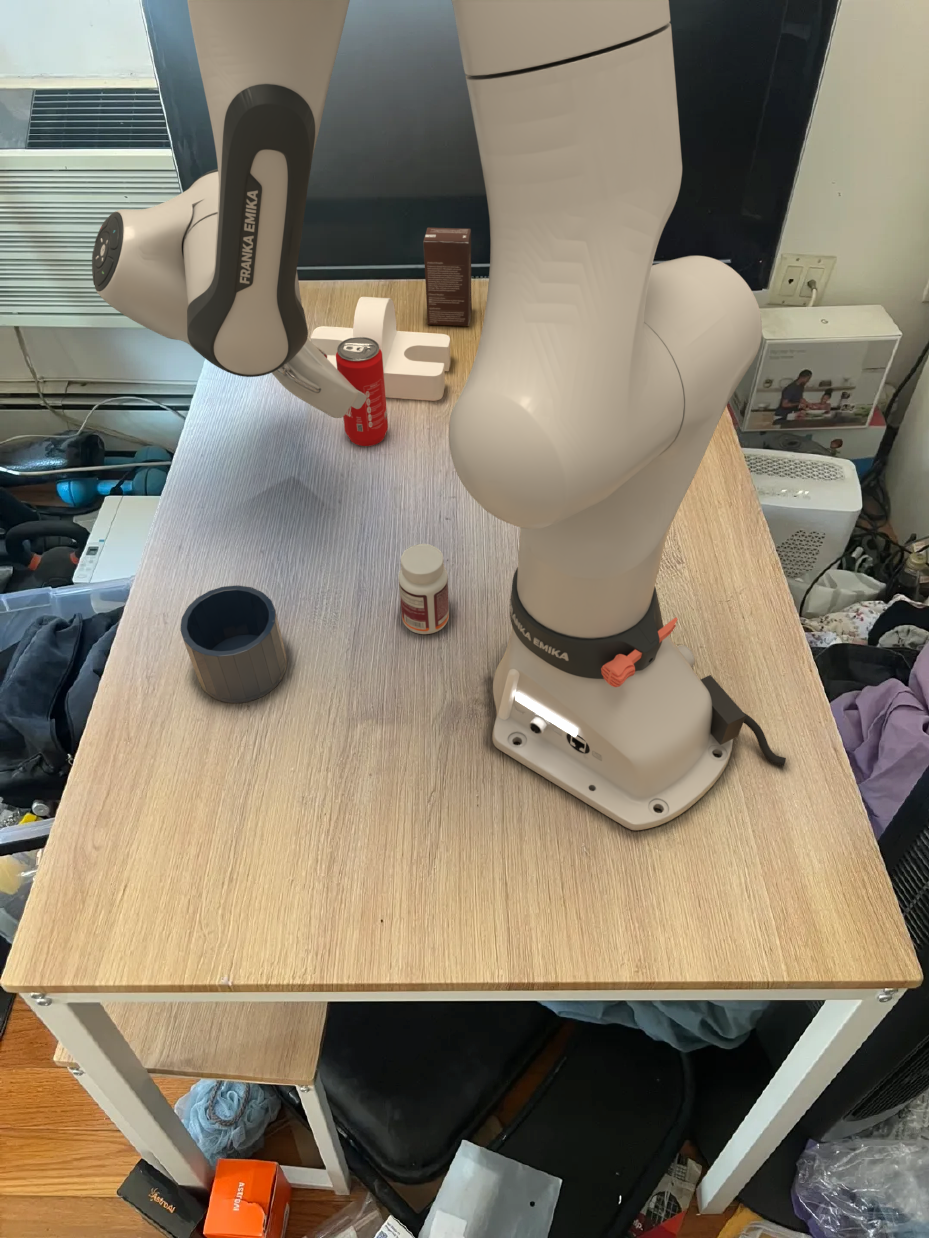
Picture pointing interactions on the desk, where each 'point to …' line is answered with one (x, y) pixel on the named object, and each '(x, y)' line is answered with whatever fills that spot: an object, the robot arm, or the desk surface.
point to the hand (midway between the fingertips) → (340, 379)
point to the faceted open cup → (234, 643)
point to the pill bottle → (423, 589)
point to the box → (448, 276)
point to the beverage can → (364, 390)
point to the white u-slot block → (394, 350)
